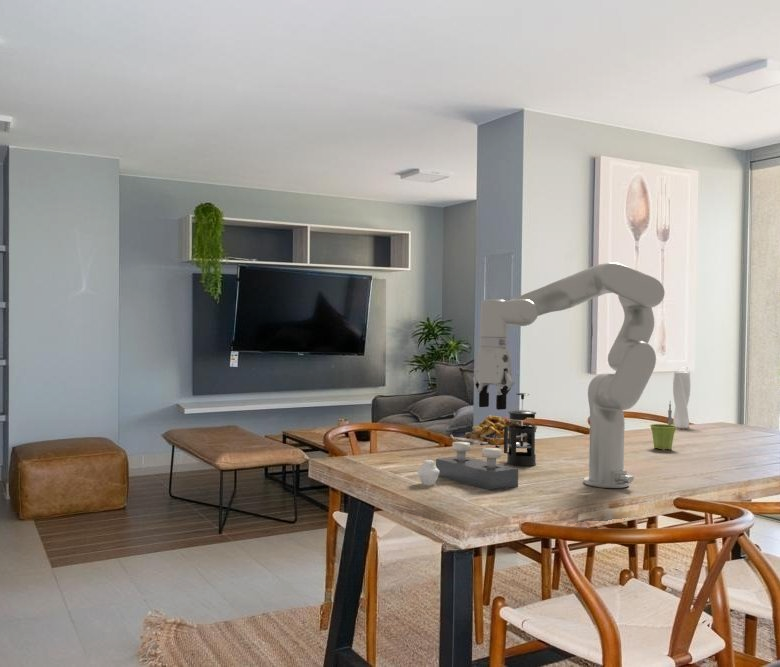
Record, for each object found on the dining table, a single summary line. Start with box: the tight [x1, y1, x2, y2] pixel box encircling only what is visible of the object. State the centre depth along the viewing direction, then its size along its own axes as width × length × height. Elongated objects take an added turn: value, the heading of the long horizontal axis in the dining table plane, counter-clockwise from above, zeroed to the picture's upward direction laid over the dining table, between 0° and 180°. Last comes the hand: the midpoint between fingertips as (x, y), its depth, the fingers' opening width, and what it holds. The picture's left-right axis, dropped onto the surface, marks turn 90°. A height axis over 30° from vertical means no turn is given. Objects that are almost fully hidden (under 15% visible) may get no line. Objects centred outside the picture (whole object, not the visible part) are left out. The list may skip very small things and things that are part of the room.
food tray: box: [449, 414, 538, 448], centre depth 300 cm, size 35×26×11 cm
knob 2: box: [481, 447, 502, 469], centre depth 215 cm, size 5×5×6 cm
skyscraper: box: [667, 366, 691, 429], centre depth 346 cm, size 8×8×28 cm
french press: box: [503, 392, 537, 468], centre depth 249 cm, size 12×9×23 cm
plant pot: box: [649, 423, 677, 450], centre depth 286 cm, size 9×9×9 cm
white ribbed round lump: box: [417, 459, 440, 487], centre depth 214 cm, size 6×6×7 cm
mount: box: [435, 456, 519, 492], centre depth 220 cm, size 24×10×5 cm, turn 35°
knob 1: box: [451, 441, 471, 462], centre depth 226 cm, size 5×5×6 cm
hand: (492, 407), depth 215 cm, fingers open, 6 cm apart
